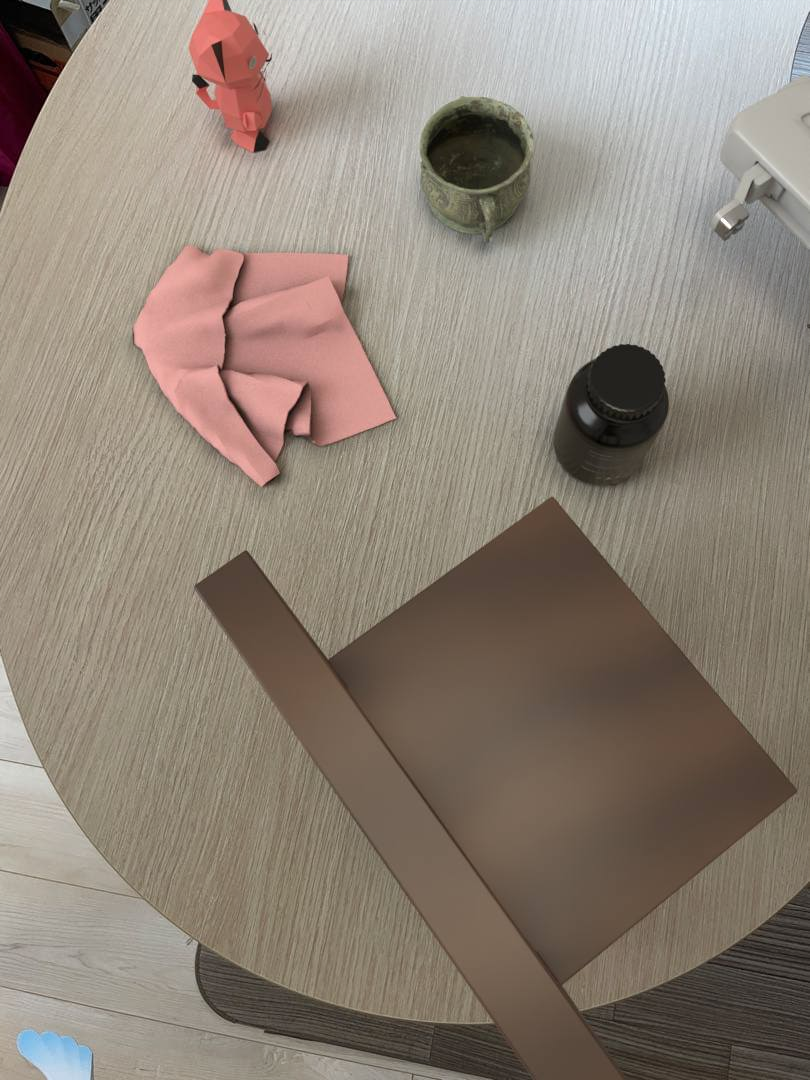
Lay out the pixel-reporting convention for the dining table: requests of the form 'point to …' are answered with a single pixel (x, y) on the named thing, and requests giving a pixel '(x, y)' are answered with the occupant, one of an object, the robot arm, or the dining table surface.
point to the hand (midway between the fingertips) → (767, 278)
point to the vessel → (475, 163)
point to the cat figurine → (232, 72)
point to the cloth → (259, 353)
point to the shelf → (517, 762)
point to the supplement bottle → (611, 415)
